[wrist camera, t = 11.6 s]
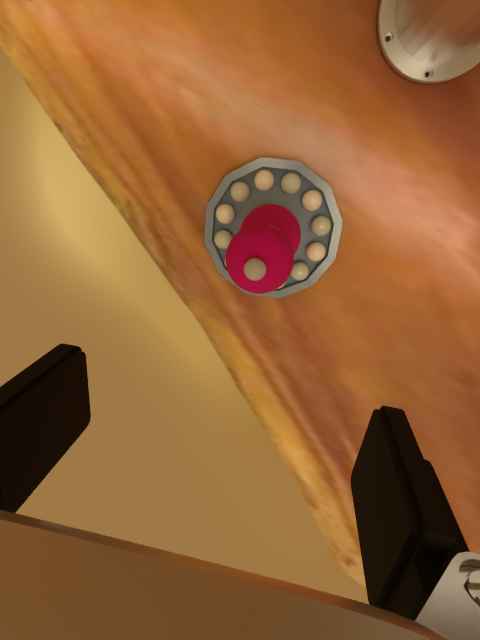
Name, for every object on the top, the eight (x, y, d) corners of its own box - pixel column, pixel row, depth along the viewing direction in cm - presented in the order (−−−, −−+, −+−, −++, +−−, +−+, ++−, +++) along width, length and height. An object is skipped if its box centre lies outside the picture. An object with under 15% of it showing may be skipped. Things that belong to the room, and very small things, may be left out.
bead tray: (213, 152, 43) (206, 150, 40) (352, 167, 42) (356, 166, 38) (205, 281, 50) (199, 289, 47) (324, 299, 48) (325, 308, 45)
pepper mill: (285, 267, 46) (275, 329, 28) (236, 244, 46) (195, 292, 28) (311, 215, 43) (318, 249, 25) (258, 191, 43) (228, 207, 25)
